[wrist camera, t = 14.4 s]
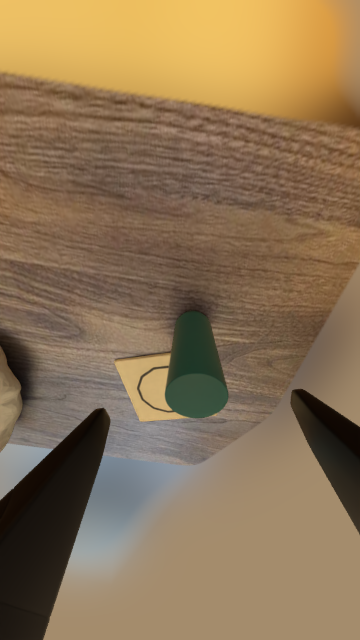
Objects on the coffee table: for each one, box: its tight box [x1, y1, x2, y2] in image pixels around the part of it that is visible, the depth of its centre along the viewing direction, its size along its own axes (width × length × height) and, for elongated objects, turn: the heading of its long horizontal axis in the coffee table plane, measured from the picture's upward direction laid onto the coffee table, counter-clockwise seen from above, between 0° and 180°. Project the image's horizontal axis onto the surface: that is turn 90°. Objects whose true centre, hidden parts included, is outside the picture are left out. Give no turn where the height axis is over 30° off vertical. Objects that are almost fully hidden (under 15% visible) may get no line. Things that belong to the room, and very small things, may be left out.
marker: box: [165, 310, 228, 418], centre depth 12 cm, size 3×3×8 cm
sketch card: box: [114, 353, 217, 422], centre depth 20 cm, size 10×10×1 cm
